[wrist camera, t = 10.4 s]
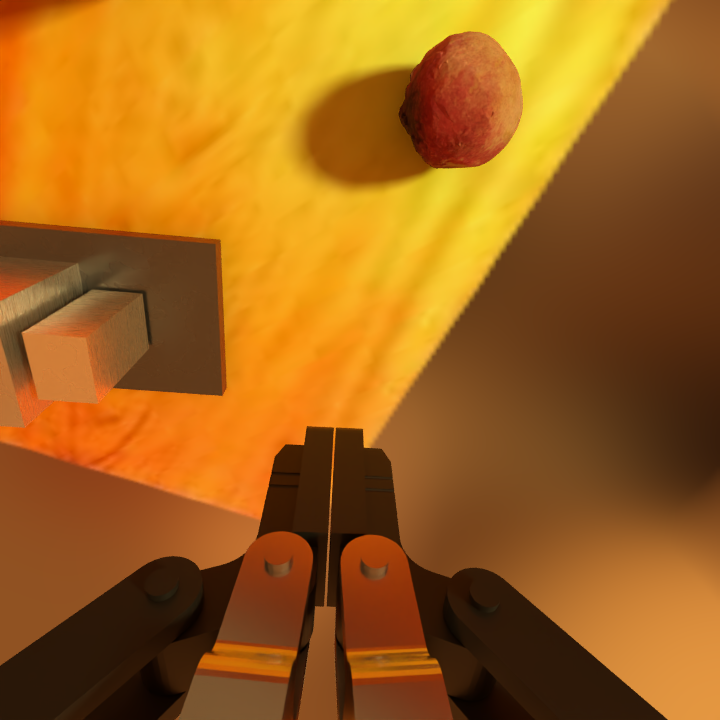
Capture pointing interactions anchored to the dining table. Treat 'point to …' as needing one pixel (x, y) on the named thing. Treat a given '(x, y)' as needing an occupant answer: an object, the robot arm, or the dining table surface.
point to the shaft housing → (122, 274)
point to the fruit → (462, 102)
